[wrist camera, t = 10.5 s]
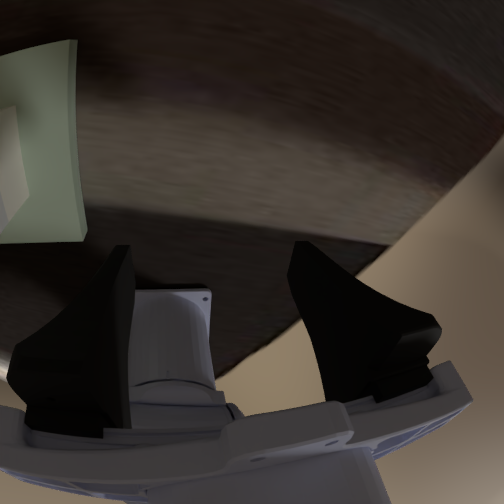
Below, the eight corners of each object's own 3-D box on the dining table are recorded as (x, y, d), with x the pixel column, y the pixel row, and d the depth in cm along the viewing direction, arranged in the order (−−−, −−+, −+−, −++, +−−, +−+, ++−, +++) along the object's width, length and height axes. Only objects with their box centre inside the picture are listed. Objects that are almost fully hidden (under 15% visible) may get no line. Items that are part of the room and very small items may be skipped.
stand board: (87, 230, 21) (83, 241, 20) (-25, 234, 18) (-33, 244, 17) (77, 40, 13) (69, 39, 11) (-52, 78, 10) (-64, 82, 8)
